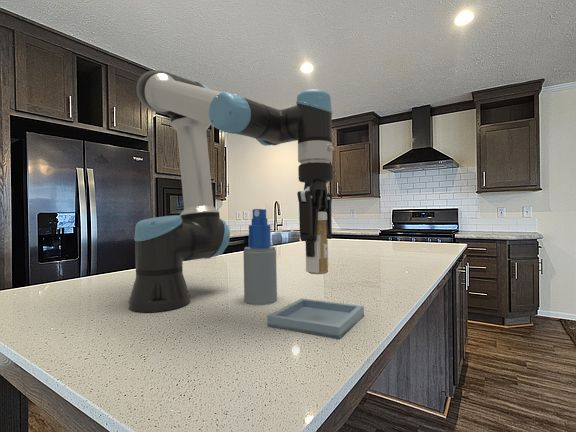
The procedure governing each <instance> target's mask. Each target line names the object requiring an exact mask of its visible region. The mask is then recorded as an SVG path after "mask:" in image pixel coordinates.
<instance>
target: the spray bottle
mask: <svg viewBox="0 0 576 432" xmlns="http://www.w3.org/2000/svg"><path fill="white" fill-rule="evenodd" d="M251 211H252V218H251V224H249V225H248V246H245V247H244V249H243V288H244V289H243V294H244V297H243V298H244V299H243V300H244V303H246V304H248V305H255V306H259V305H260V306H261V305H262V306H264V305H270V304H273V303H276V302H277V301H278V290H277V288H278V285H277V283H278V281H277V280H278V279H277V250H276V246H272V244H271V243H272V241H271V240H272V237H271V224H269V223H268V218H267V209H263V208H262V209H261V208H254V209H252V210H251Z"/></svg>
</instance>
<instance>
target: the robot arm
mask: <svg viewBox="0 0 576 432" xmlns="http://www.w3.org/2000/svg"><path fill="white" fill-rule="evenodd" d="M136 94H137V97H138V99H139V101H140V102H141V104H142V105H143V106H144V107H146V108H147V109H148V110H149V111H152V112H155V113H157V114H160V115H164V116H167V117H170V125H171V128H173V129H174V130H175V131H176V134H177V145H178V157H179V168H180V178H181V179H180V180H181V189H182V191H181V192H182V201H183V210H182V211H181V213H180V214H179V215H176V214H175V215H164V216H158V217H157V216H156V217H150V218H149V217H148V218H144V219H142V220H139V221H137V223H136V224H135V229H134V237H133V239H134V248H135V250H134V253H135V254H134V257H135V278H134V280H135V281H134V282H133V286H132V289H131V293H130V296H129V298H128V299H129V300H128V308H129V310H130V311H134V312H138V313H139V312H140V313H150V312H151V313H156V312H167V311H171V310H176V309H179V308H183V307H184V306H187V305H188V304H190V302H191V296H190V295H191V293H190V291H189V289H188V286H187V283H186V279H185V277H184V272H183V265H184V264H183V262H191V261H196V260H197V261H198V260H202V259H203V260H204V259H205V260H206V259H211V258H214V257H218V256H220V255H222V254H223V253H224V252H225V250H226V249H227V247H228V245H229V242H230V238H231V237H230V236H231V235H230V227H229V225H228V224H227V222H226V221H225V220H224V219H222V218H220V217H221V216H220V211H219V210H218V209H217V208H215V206H214V197H213V196H214V195H213V188H212V187H213V186H212V177H211V176H212V175H211V165H210V157H209V156H210V155H209V146H208V145H209V143H208V136H207V130H208V129H209V128H210V126H213V127H214V128H215V129H217V130H219V131H222V132H225V133H227V134H232V135H233V134H234V135H239V136H243V137H250V138H253V139H256V141H257V142H259V144H260V145H262V146H265V147H266V146H278V145H281V144H285V143H291V142H295V141H297V161H298V163H299V165H298V167H297V168H298V169H297V171H298V181H299V182H300V183H304V186H303V190H300V191H297V193H296V194H297V200H298V214H299V217H298V219H299V222H298V223H299V239H300V241H301V242H305V272H306V273H308V272H316V273H318V272H319V241H316V239H317V225H318V212H327V220H326V221H327V222H326V231H327V256H328V257H327V267H328V268H329V245H328V244H329V241H328V240H331V239H333V235H332V234H333V233H332V232H333V231H332V230H333V228H332V226H333V223H332V221H333V220H332V201H333V200H332V199H333V194H332V193H328V189H327V188H328V187H327V183H329V182H332V181H333V180H334V176H333V175H334V168H333V166H334V165H333V164H332V163H331V162H333V151H334V150H335V147H334V146H333V139H332V138H333V136H332V135H333V133H332V132H333V130H332V129H333V128H332V127H333V125H332V122H333V120H332V119H333V117H332V116H333V110H332V100H331V98H332V97H331V95H330V93H328V92H327V91H326V90H324V89H317V88H312V89H306V90H302V91H301V92H299V93H298V94H297V95H296V96H297V97H296V105H294V106H291V107H288V108H282V109H278V108H275V107H272V106H270V105H266V104H264V103H259V102H257V101H255V100H252V99H248V98H246V97H243V96H242V95H239V94H236V93H233V92H227V91H220V90H214V89H211V88H210V87H208V86H206V85H204V84H202V83H200V82H199V81H193V80H190V79H187V78H184V77H182V76H178V75H176V74H174V73H171V72H168V71H165V70H157V69H155V70H149V71H146V72H145V73H143V74H142V75H141V76H140V77H139V78H138V80H137V84H136Z"/></svg>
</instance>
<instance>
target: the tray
mask: <svg viewBox="0 0 576 432" xmlns="http://www.w3.org/2000/svg"><path fill="white" fill-rule="evenodd" d="M364 316H365V307H364V305H359V304H350V303H344V302H343V303H342V302H335V301H334V302H333V301H327V300H326V301H325V300H318V299H310V298H309V299H308V298H304V297H303V298H299V299H297V300H296V301H294V302H291V303H289V304H287V305H285V306H283V307H282V308H280V309H279V310H276V311H274V312H272V313H270V314H268V315H267V316H266V318H267V327H269V328H275V329H280V330H281V329H282V330H286V331H293V332H298V333H302V334H303V333H304V334H309V335H315V336H319V337H325V338H326V337H327V338H333V339H337V340H340V339H341V338H343V336H344V335H345V334H347V333H348V331H349V330H351V328H353V327H354V326H355V325H356V324H357V323H358V322H359V321H360V320H361V319H363V317H364Z"/></svg>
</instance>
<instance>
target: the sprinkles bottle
mask: <svg viewBox="0 0 576 432" xmlns="http://www.w3.org/2000/svg"><path fill="white" fill-rule="evenodd" d="M326 220H327V212H318V225H317V239H316V241H319V272H318V273H316V272H307V273H308V274H311V275H326V274H327V273H329V266H328V267H327V257H328V258H329V255H328V256H327V240H328V239H327V231H326V222H327V221H326Z"/></svg>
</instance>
